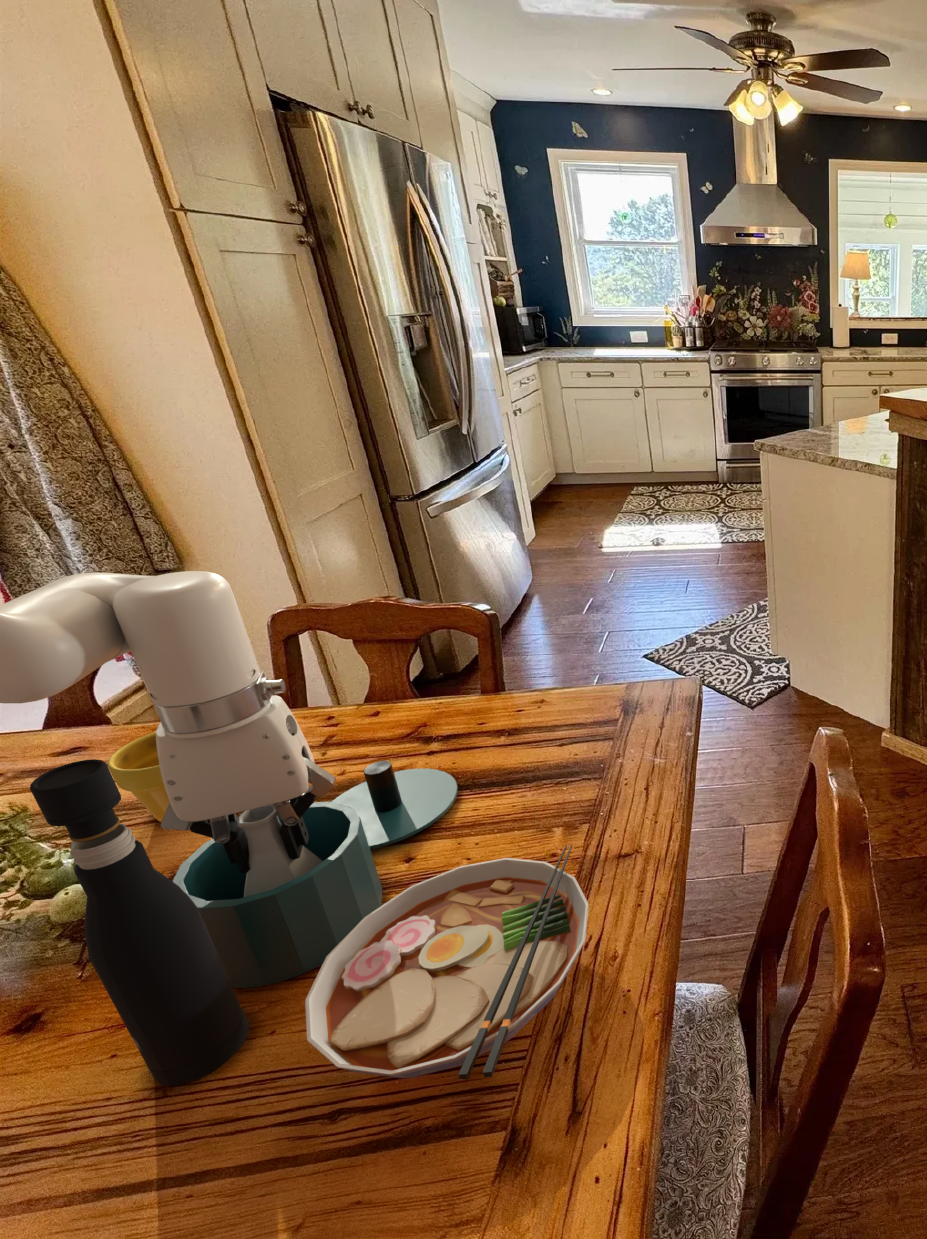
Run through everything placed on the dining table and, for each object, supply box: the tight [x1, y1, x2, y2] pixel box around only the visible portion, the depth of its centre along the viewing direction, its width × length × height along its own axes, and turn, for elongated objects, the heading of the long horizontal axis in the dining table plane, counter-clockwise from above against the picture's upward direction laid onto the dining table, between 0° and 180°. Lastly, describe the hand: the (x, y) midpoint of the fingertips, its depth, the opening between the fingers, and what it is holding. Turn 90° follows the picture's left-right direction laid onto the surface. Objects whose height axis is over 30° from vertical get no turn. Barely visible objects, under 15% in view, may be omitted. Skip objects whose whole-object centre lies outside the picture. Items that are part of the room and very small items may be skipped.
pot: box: [171, 801, 383, 989], centre depth 73 cm, size 15×15×10 cm
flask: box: [237, 804, 323, 898], centre depth 71 cm, size 7×7×10 cm
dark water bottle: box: [29, 758, 250, 1087], centre depth 57 cm, size 6×6×30 cm
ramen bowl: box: [304, 844, 590, 1081], centre depth 66 cm, size 25×23×8 cm
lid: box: [331, 760, 459, 850], centre depth 91 cm, size 16×16×7 cm
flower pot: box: [107, 731, 170, 823], centre depth 90 cm, size 10×10×10 cm
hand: (273, 855), depth 71 cm, fingers closed on flask, 3 cm apart
